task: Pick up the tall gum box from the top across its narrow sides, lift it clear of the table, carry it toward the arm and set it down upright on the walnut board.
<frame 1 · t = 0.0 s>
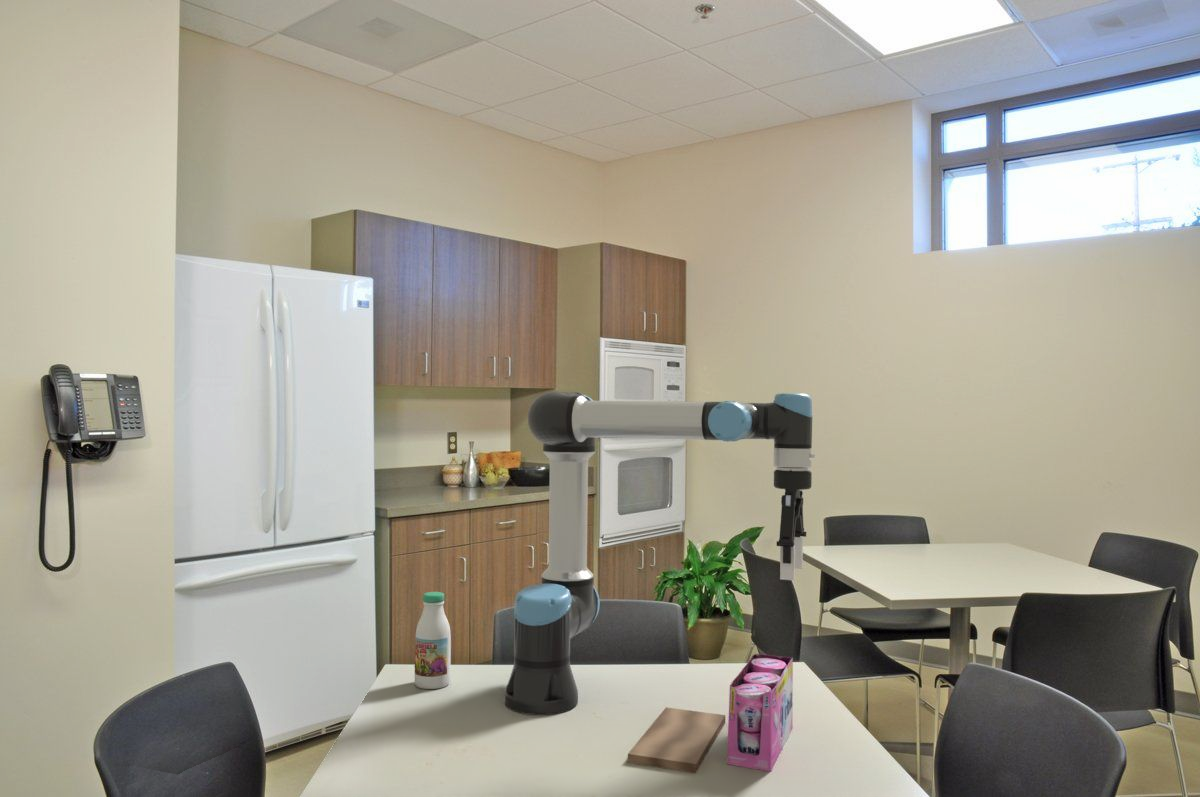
hand: (791, 573, 175), 28 cm above the table, tool pointing down, fingers open, 13 cm apart
gum box: (761, 746, 157), on the table
walnut board: (679, 741, 158), on the table
milk bottle: (432, 685, 189), on the table
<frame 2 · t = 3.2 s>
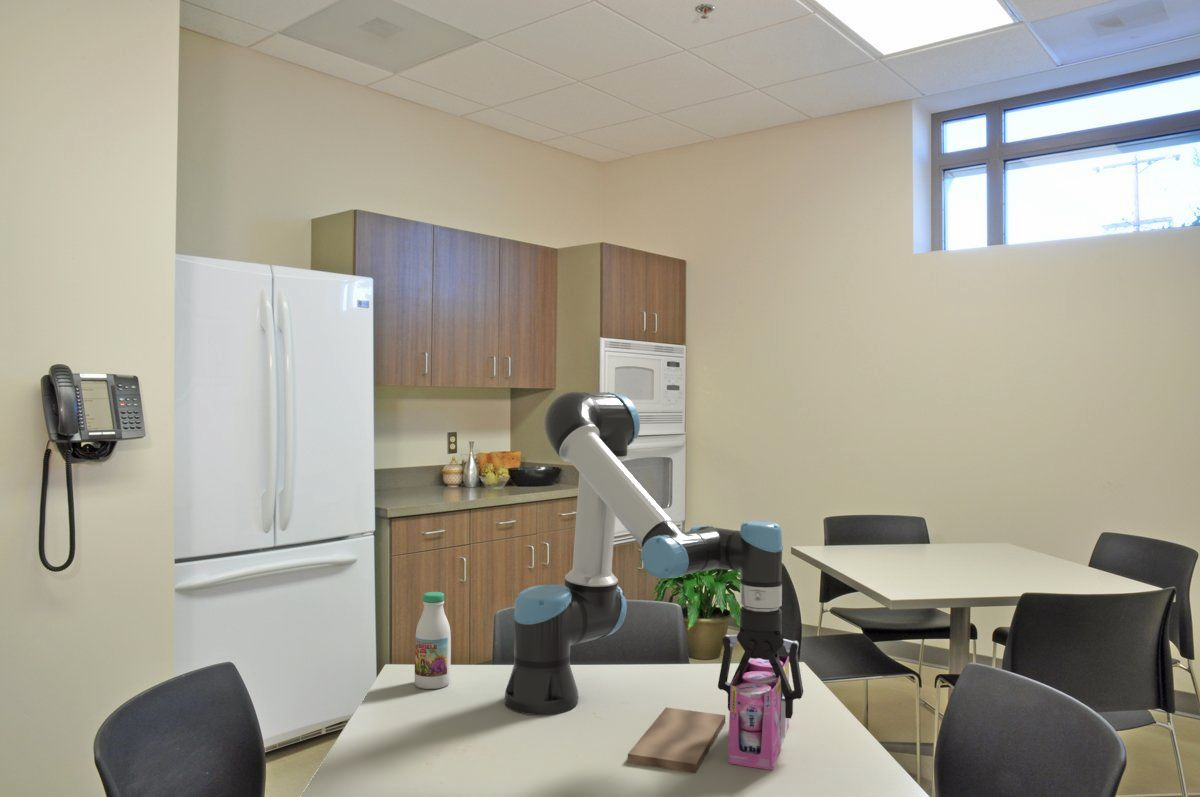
hand: (759, 731, 157), 2 cm above the table, tool pointing down, fingers closed on gum box, 8 cm apart
gum box: (760, 745, 158), on the table, touching gripper
everything else where it was.
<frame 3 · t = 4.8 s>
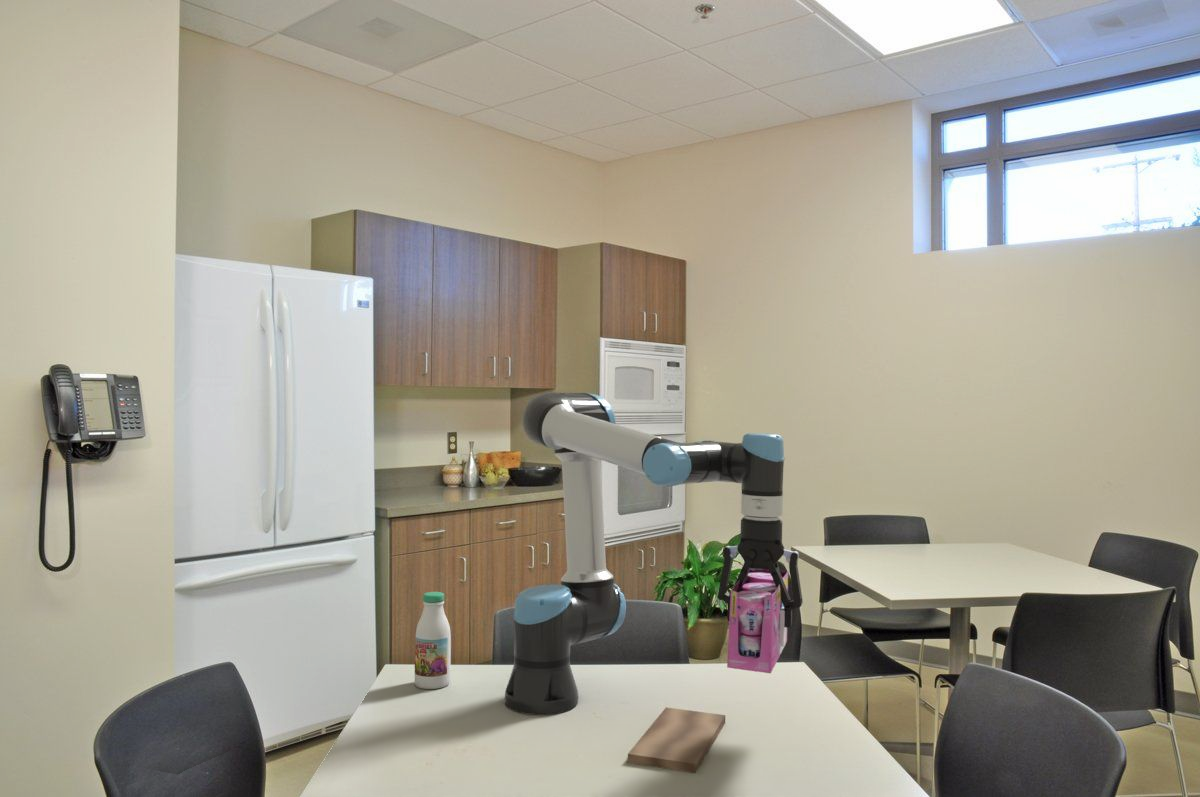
hand: (758, 641, 158), 19 cm above the table, tool pointing down, fingers closed on gum box, 8 cm apart
gum box: (758, 655, 158), point 16 cm above the table, touching gripper
everything else where it was.
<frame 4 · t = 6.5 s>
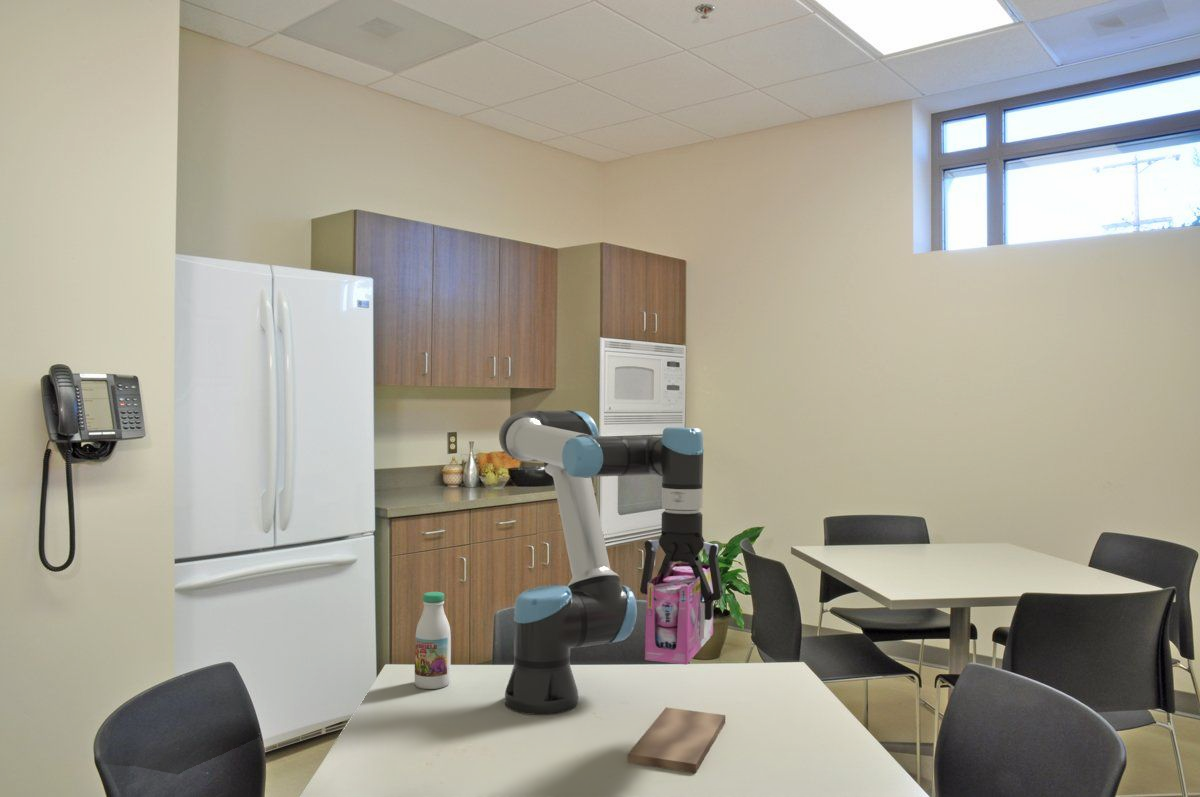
hand: (680, 634, 158), 20 cm above the table, tool pointing down, fingers closed on gum box, 8 cm apart
gum box: (680, 647, 159), point 17 cm above the table, touching gripper
everything else where it was.
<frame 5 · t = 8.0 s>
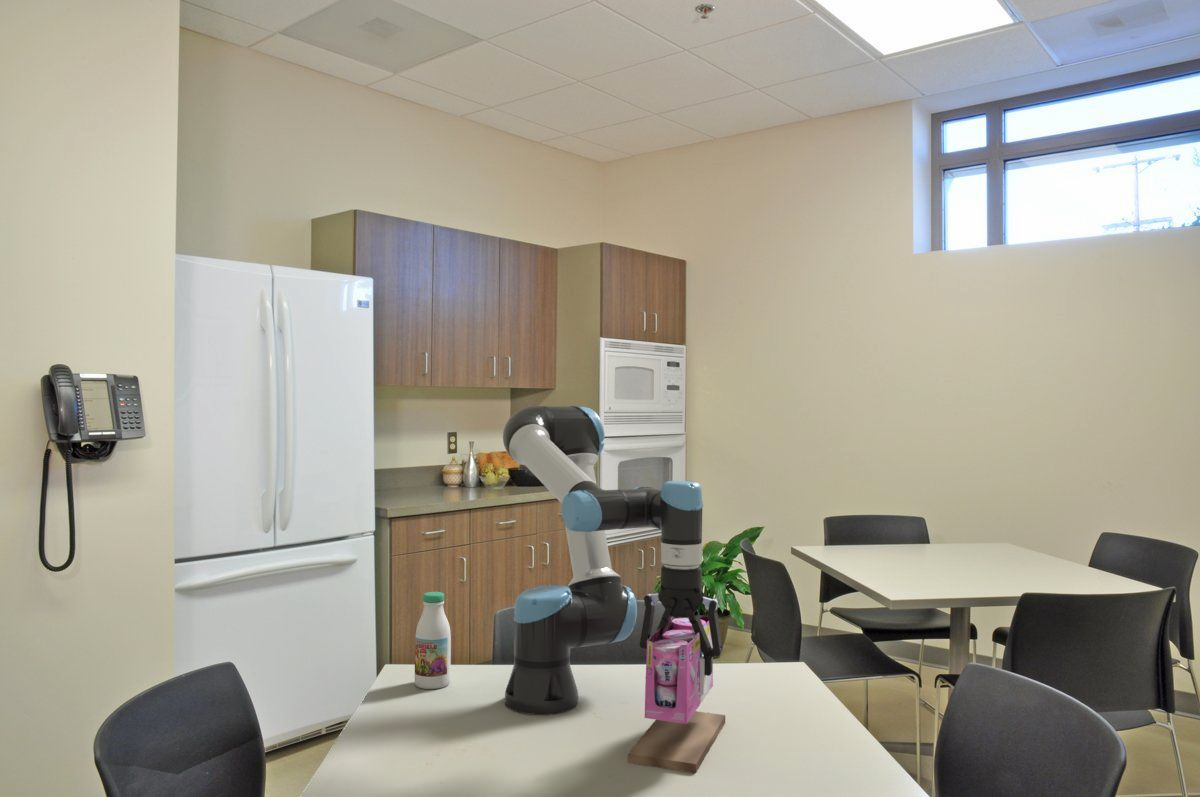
hand: (680, 689, 158), 10 cm above the table, tool pointing down, fingers closed on gum box, 8 cm apart
gum box: (680, 702, 158), point 7 cm above the table, touching gripper
everything else where it was.
when the fingers open (5 cm above the table, at t = 9.5 s): gum box stays where it is, resting on walnut board.
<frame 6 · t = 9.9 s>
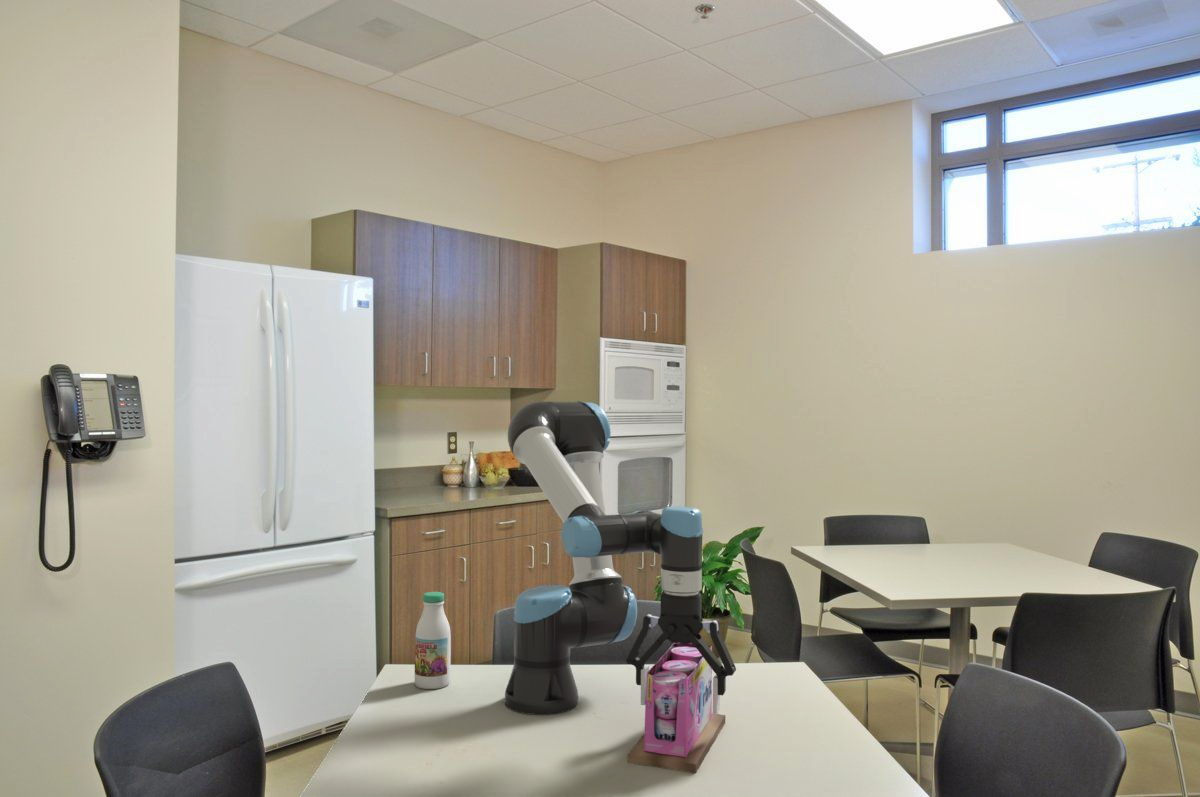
hand: (679, 707, 158), 6 cm above the table, tool pointing down, fingers open, 13 cm apart
gum box: (679, 733, 159), point 1 cm above the table, touching walnut board
everything else where it was.
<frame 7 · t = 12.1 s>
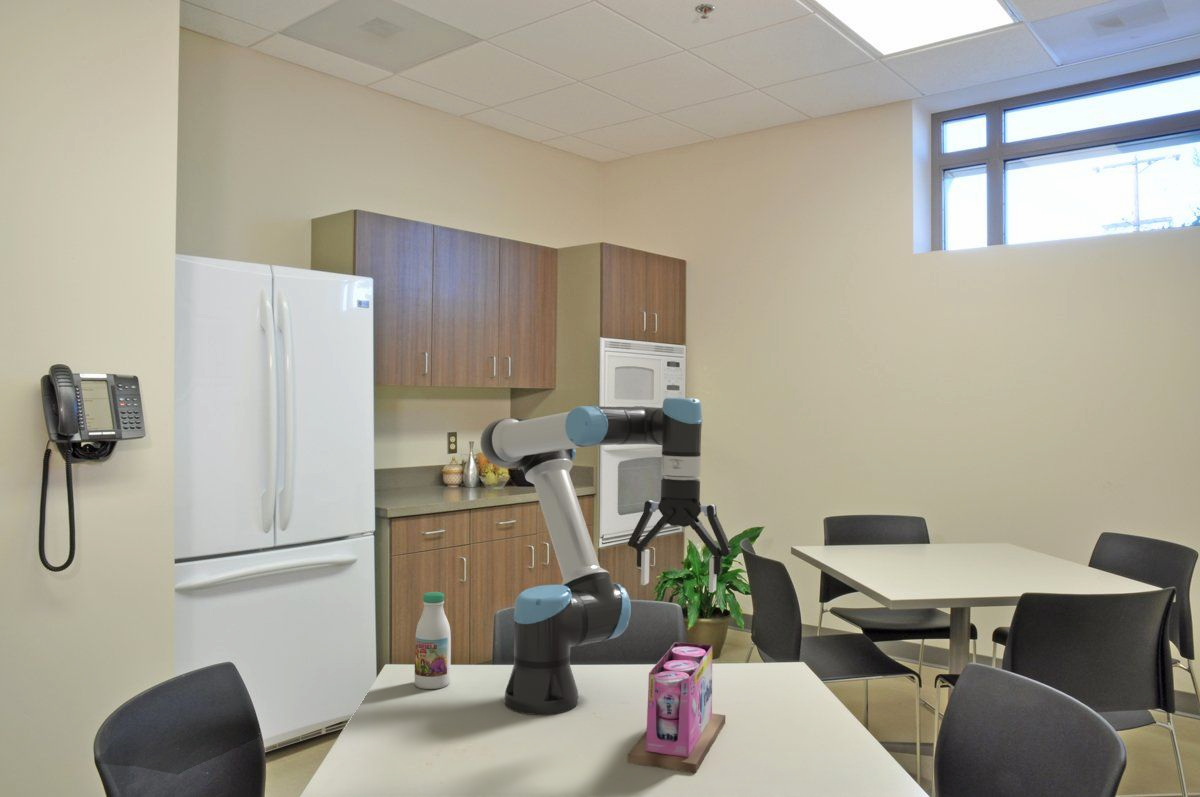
hand: (678, 587, 166), 27 cm above the table, tool pointing down, fingers open, 13 cm apart
nothing on the table moved.
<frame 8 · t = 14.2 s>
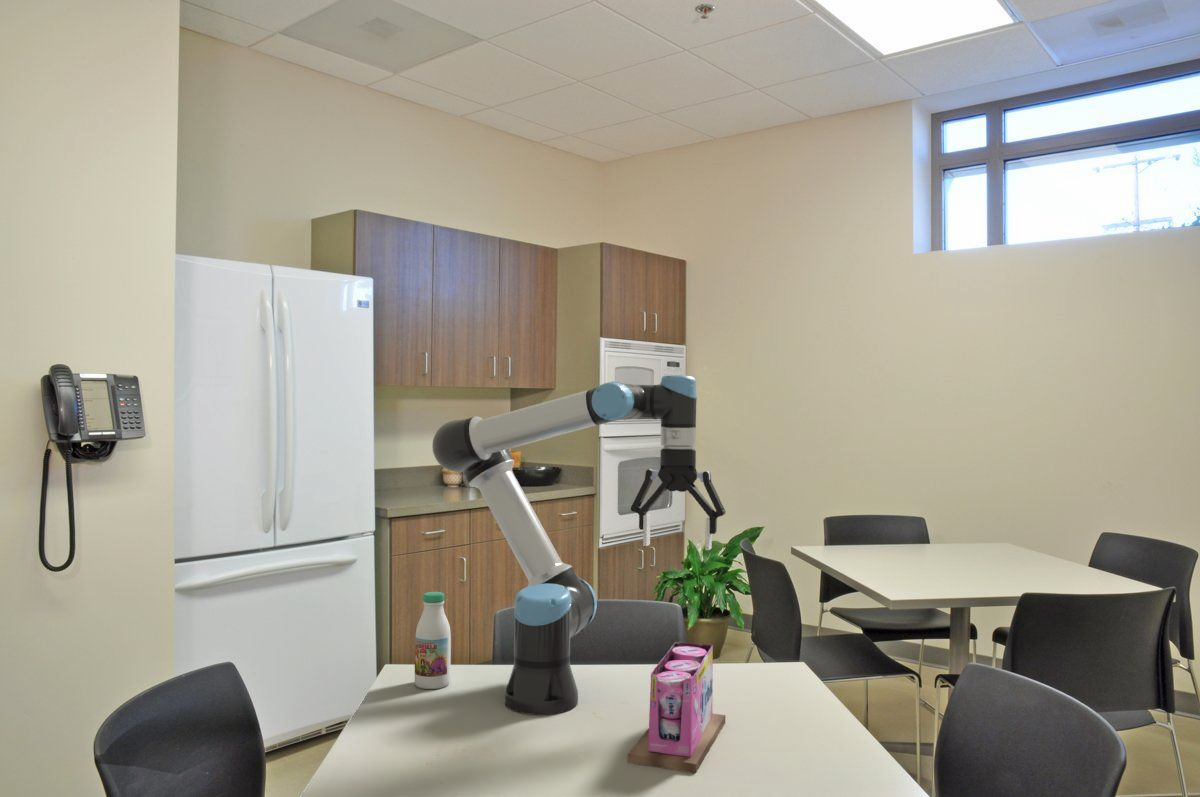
hand: (677, 547, 184), 32 cm above the table, tool pointing down, fingers open, 13 cm apart
nothing on the table moved.
at the end: gum box inside the target area on the walnut board (0.8 cm from its centre), point 1.3 cm above the walnut board's base; gum box tilted 0°; the gripper is holding nothing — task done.
